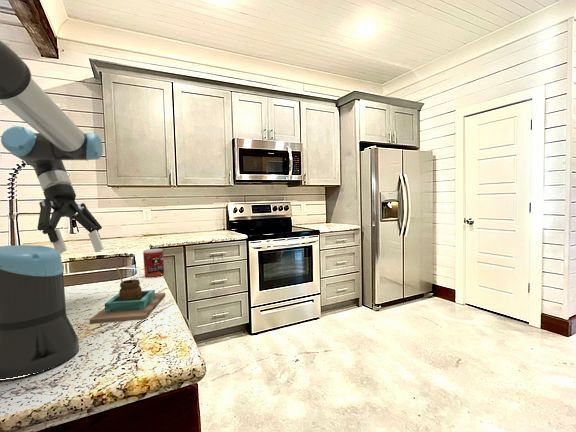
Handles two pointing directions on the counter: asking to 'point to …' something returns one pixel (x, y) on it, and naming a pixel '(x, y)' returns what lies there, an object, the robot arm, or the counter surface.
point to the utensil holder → (130, 289)
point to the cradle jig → (128, 308)
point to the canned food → (153, 262)
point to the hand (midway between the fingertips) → (82, 251)
